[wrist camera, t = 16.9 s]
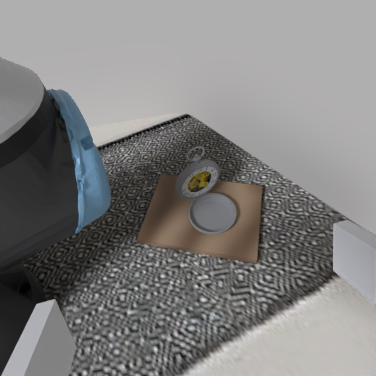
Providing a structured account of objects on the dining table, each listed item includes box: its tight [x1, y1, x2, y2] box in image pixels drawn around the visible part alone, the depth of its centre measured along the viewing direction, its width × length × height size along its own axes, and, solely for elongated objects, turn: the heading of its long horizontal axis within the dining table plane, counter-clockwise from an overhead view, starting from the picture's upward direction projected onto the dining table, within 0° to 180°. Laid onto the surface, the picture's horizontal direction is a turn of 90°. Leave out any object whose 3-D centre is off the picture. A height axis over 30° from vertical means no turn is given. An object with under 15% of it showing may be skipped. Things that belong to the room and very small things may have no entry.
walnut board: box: [137, 174, 262, 263], centre depth 38 cm, size 16×12×1 cm
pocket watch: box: [176, 146, 237, 235], centre depth 34 cm, size 8×8×10 cm
